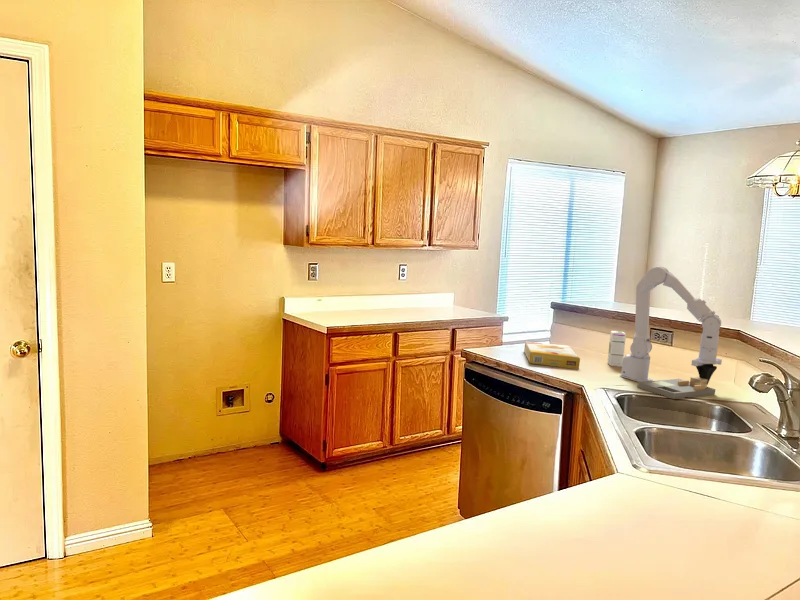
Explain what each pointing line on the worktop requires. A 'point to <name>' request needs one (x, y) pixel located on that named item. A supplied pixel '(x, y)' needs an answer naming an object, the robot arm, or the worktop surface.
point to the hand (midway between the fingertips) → (703, 384)
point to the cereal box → (551, 355)
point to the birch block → (698, 381)
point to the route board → (676, 388)
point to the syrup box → (616, 348)
